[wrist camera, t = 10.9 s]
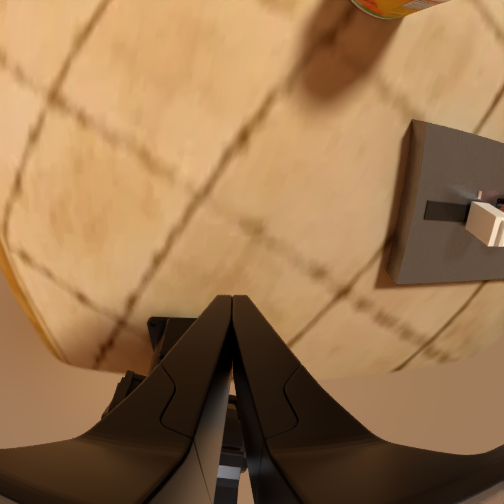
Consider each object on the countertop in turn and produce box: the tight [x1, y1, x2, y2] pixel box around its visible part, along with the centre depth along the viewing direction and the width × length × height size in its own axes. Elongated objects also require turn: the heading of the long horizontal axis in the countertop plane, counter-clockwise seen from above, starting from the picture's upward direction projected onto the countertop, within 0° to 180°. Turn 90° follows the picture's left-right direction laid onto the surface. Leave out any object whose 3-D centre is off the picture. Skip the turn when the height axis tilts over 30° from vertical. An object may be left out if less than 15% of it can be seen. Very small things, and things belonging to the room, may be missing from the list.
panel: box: [387, 119, 504, 284], centre depth 21 cm, size 12×20×2 cm, turn 88°
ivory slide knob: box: [465, 201, 504, 247], centre depth 18 cm, size 2×2×3 cm
